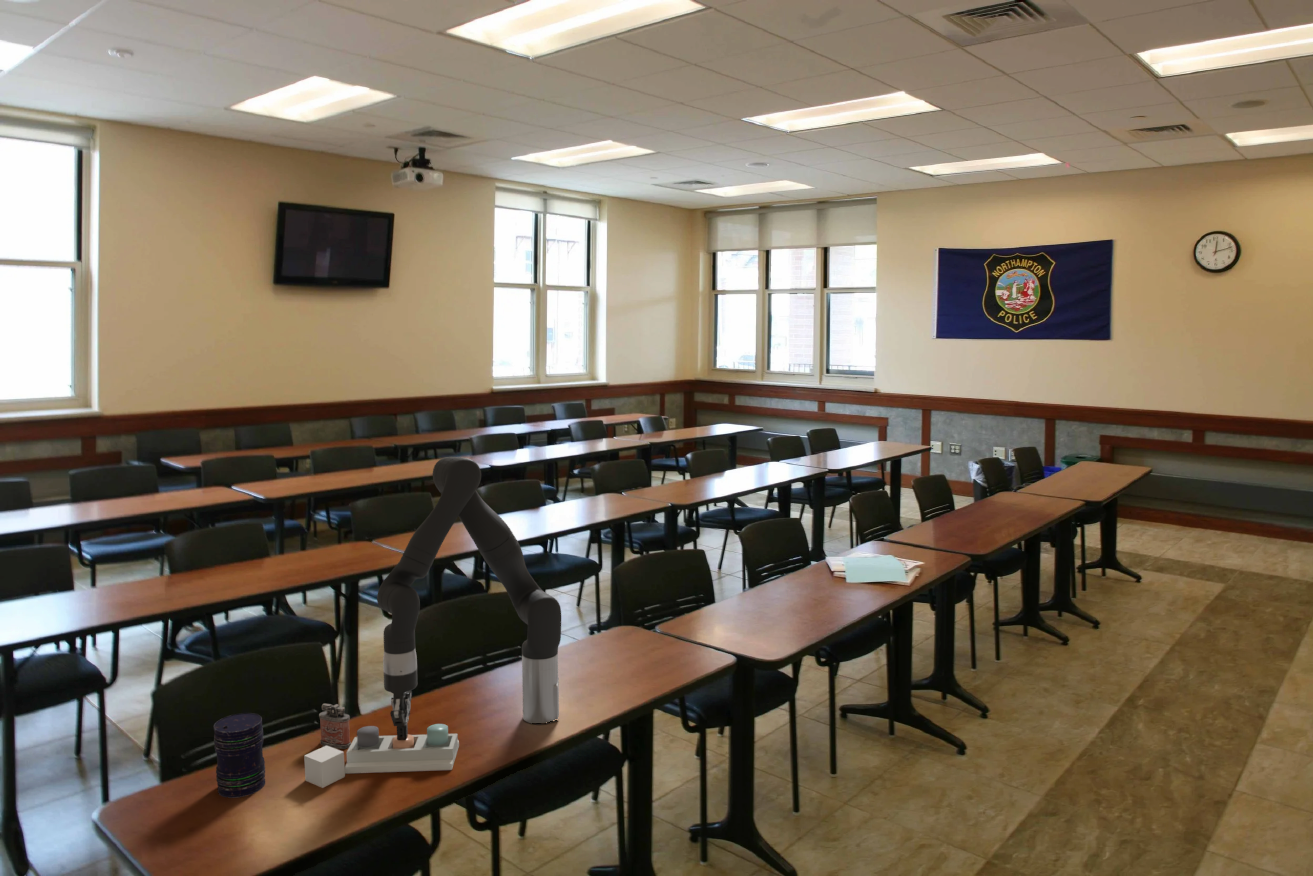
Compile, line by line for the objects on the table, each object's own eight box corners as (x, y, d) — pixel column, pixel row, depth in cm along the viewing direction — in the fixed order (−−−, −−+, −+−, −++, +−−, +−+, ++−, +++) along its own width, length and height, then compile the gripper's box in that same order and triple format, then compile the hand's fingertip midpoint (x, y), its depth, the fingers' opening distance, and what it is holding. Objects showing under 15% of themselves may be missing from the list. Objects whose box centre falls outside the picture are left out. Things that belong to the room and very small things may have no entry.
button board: (459, 746, 224) (458, 729, 223) (451, 770, 212) (451, 753, 211) (357, 749, 222) (357, 733, 221) (344, 773, 210) (344, 756, 210)
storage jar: (249, 771, 211) (246, 709, 209) (275, 783, 205) (271, 719, 204) (207, 789, 203) (203, 724, 201) (233, 803, 197) (229, 736, 195)
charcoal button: (381, 737, 218) (380, 725, 218) (376, 747, 214) (376, 734, 213) (360, 738, 218) (359, 726, 218) (355, 747, 213) (354, 735, 213)
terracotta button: (415, 746, 219) (415, 733, 219) (412, 755, 214) (411, 743, 214) (395, 746, 219) (394, 734, 218) (390, 756, 214) (390, 743, 214)
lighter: (353, 744, 225) (352, 704, 224) (345, 750, 222) (343, 710, 220) (326, 739, 227) (324, 700, 226) (317, 745, 224) (315, 705, 223)
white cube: (322, 788, 204) (321, 762, 203) (305, 781, 207) (303, 755, 206) (345, 777, 209) (343, 751, 208) (327, 770, 212) (326, 745, 211)
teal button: (449, 735, 220) (449, 723, 219) (446, 744, 215) (446, 732, 214) (429, 736, 219) (428, 724, 219) (425, 745, 214) (425, 733, 214)
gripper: (411, 678, 208) (413, 751, 210) (421, 657, 221) (423, 726, 223) (377, 679, 207) (379, 752, 209) (389, 658, 220) (392, 727, 223)
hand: (402, 738), depth 216 cm, fingers closed
